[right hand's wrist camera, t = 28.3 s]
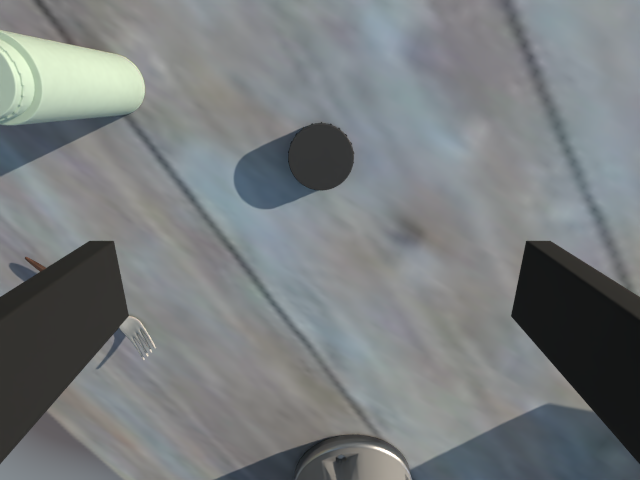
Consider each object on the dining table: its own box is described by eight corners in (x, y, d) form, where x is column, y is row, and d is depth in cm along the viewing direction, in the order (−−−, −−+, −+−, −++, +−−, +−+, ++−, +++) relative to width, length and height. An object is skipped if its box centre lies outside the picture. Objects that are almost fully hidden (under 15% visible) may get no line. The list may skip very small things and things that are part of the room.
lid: (331, 109, 35) (331, 109, 33) (364, 165, 37) (366, 169, 35) (276, 145, 36) (274, 147, 35) (311, 198, 38) (311, 203, 36)
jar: (148, 115, 35) (33, 128, 21) (92, 114, 35) (-60, 126, 21) (141, 54, 33) (10, 24, 19) (82, 52, 33) (-92, 20, 19)
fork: (34, 246, 40) (20, 254, 38) (163, 336, 43) (156, 347, 41) (22, 263, 40) (8, 272, 38) (150, 350, 44) (142, 361, 42)
